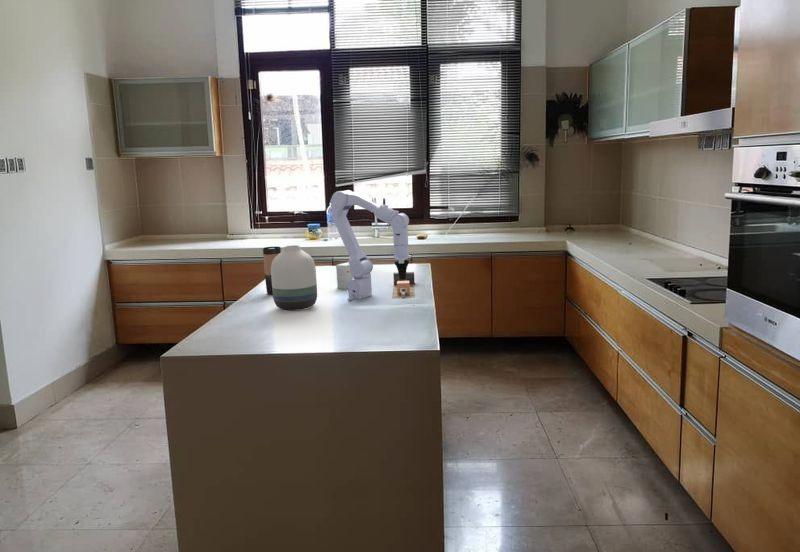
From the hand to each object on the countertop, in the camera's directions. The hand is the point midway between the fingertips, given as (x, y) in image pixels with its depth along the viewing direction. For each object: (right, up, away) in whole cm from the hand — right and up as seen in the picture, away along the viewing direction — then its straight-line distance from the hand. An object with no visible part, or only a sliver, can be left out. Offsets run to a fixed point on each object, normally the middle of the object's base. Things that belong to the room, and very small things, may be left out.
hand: (402, 278), depth 253 cm
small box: (-24, -4, +33) cm, 41 cm away
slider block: (0, -6, +9) cm, 10 cm away
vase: (-41, -11, -4) cm, 43 cm away
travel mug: (-55, -7, +27) cm, 62 cm away
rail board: (+1, -6, +15) cm, 16 cm away
